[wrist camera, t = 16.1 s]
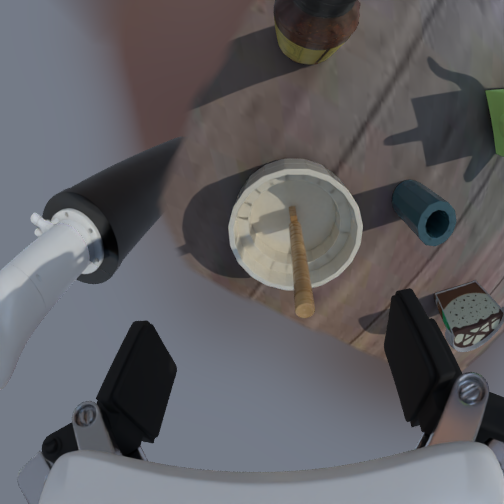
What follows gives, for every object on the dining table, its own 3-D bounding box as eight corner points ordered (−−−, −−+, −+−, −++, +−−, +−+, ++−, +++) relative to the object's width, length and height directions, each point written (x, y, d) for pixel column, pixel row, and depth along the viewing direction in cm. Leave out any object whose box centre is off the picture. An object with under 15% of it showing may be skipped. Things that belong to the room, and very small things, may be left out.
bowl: (215, 226, 36) (205, 249, 31) (278, 133, 29) (279, 140, 24) (303, 280, 39) (306, 308, 34) (371, 203, 32) (387, 222, 27)
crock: (384, 201, 32) (409, 228, 25) (408, 171, 30) (439, 191, 23) (408, 224, 33) (434, 254, 26) (431, 196, 31) (462, 220, 24)
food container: (423, 321, 42) (442, 363, 33) (427, 295, 39) (451, 338, 30) (474, 304, 39) (498, 340, 31) (481, 278, 36) (509, 314, 28)
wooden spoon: (289, 226, 34) (297, 325, 20) (286, 207, 33) (292, 298, 18) (300, 224, 34) (316, 322, 19) (297, 205, 33) (313, 295, 18)
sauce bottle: (323, 16, 22) (378, -72, 4) (339, 62, 24) (424, 17, 7) (267, 25, 23) (254, -69, 6) (282, 72, 26) (295, 21, 9)
